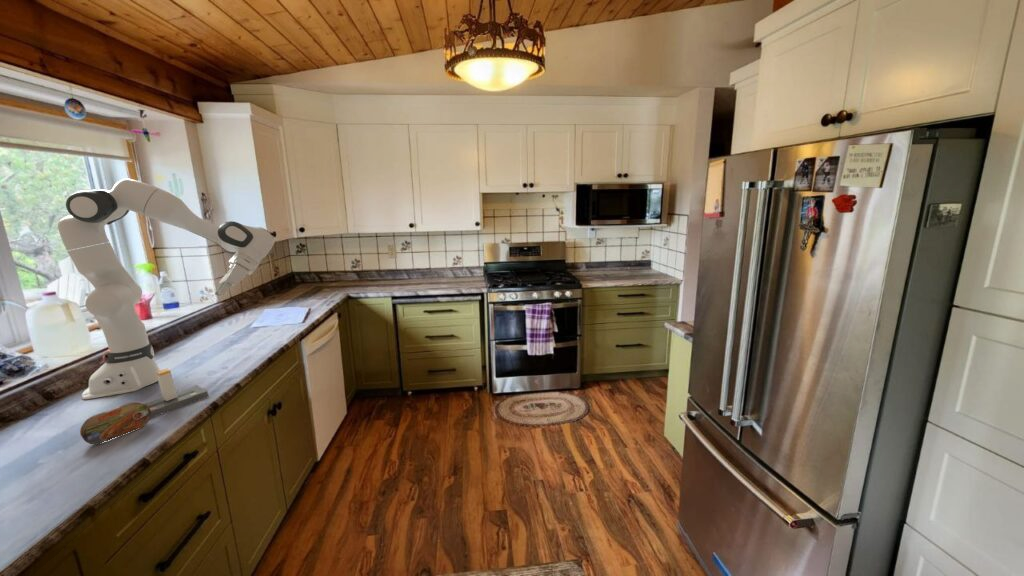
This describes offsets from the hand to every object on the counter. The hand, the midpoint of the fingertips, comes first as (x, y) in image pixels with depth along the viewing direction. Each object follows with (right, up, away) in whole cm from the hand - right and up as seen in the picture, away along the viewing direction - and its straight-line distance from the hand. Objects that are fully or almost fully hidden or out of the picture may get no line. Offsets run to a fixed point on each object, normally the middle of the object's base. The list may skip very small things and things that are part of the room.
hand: (218, 294), depth 152 cm
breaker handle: (-5, -34, -16) cm, 38 cm away
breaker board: (-5, -37, -15) cm, 40 cm away
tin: (-6, -41, -32) cm, 52 cm away
